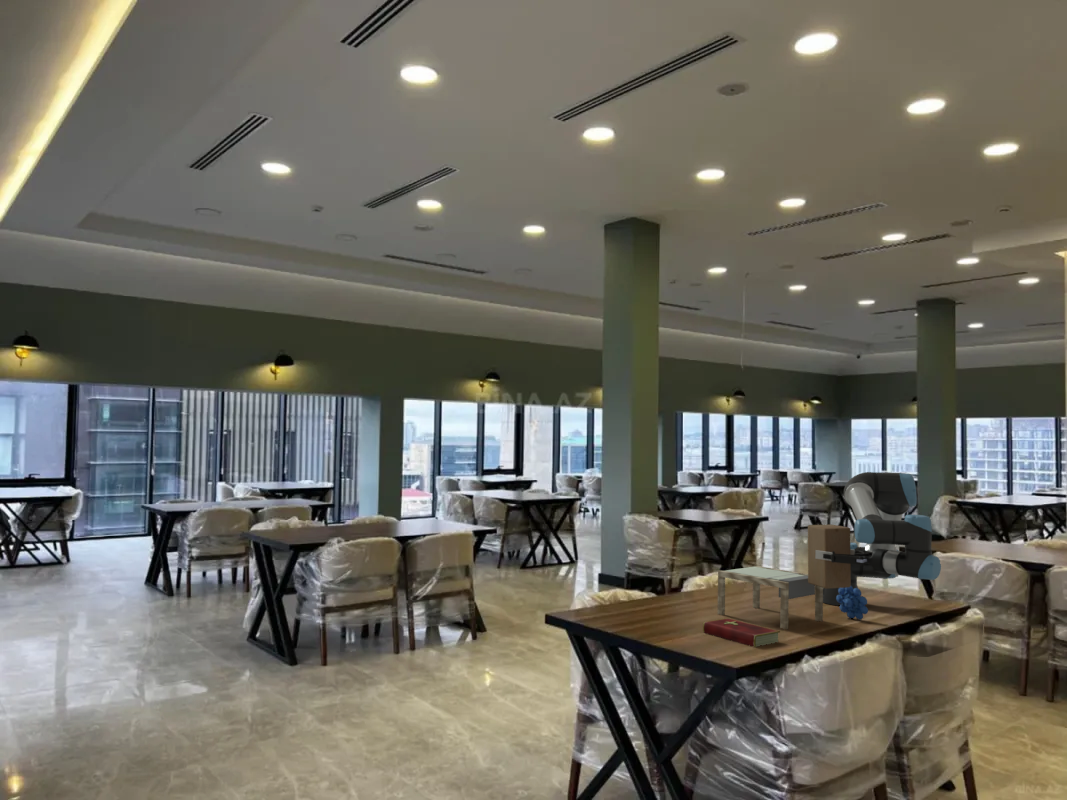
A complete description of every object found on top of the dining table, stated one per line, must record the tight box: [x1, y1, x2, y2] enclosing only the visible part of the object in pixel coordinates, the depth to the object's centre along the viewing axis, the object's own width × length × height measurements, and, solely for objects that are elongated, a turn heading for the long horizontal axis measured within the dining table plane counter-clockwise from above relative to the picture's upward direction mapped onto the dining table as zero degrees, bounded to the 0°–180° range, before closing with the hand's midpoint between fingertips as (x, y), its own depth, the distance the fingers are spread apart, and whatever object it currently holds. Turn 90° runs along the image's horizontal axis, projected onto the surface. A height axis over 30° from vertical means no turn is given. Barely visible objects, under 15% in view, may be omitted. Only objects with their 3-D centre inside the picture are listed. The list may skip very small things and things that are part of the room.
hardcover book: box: [702, 617, 781, 648], centre depth 258 cm, size 12×21×4 cm, turn 35°
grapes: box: [836, 586, 869, 621], centre depth 290 cm, size 12×7×12 cm, turn 43°
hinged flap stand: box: [717, 565, 824, 630], centre depth 289 cm, size 28×23×16 cm
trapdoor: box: [725, 566, 815, 600], centre depth 289 cm, size 26×19×6 cm
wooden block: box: [807, 524, 851, 589], centre depth 276 cm, size 10×10×20 cm
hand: (826, 552), depth 276 cm, fingers closed on wooden block, 12 cm apart
